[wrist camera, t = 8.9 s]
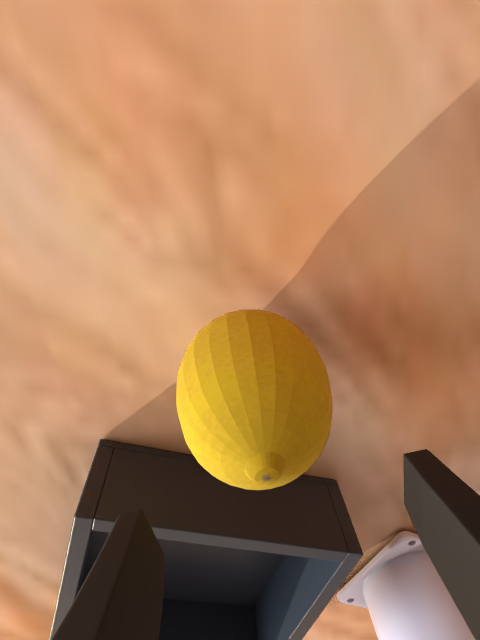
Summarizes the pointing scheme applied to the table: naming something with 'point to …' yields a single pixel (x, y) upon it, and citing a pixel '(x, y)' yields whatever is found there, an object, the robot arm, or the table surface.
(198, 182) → the table surface
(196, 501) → the bin
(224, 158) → the table surface
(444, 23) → the table surface
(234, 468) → the lemon
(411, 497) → the robot arm
